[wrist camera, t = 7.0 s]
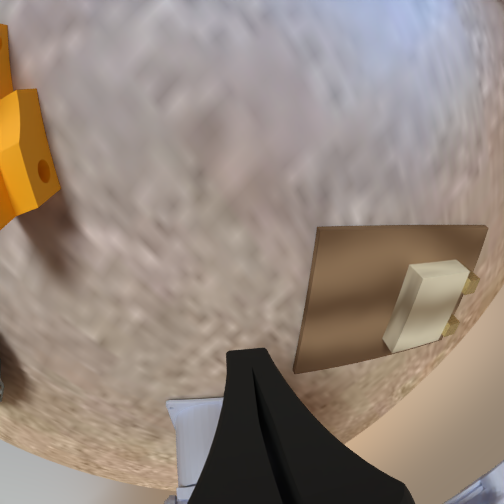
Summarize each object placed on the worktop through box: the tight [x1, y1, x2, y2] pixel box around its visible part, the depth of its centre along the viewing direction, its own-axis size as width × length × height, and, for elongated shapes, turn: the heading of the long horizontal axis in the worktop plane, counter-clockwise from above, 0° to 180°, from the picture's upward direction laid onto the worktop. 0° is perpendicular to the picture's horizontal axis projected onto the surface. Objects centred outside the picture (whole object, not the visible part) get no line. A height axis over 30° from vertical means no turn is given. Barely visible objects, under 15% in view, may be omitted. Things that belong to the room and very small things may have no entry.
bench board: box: [293, 225, 488, 374], centre depth 23 cm, size 14×18×1 cm
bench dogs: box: [442, 264, 480, 337], centre depth 23 cm, size 6×2×2 cm, turn 178°
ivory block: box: [382, 260, 470, 353], centre depth 23 cm, size 8×6×2 cm
